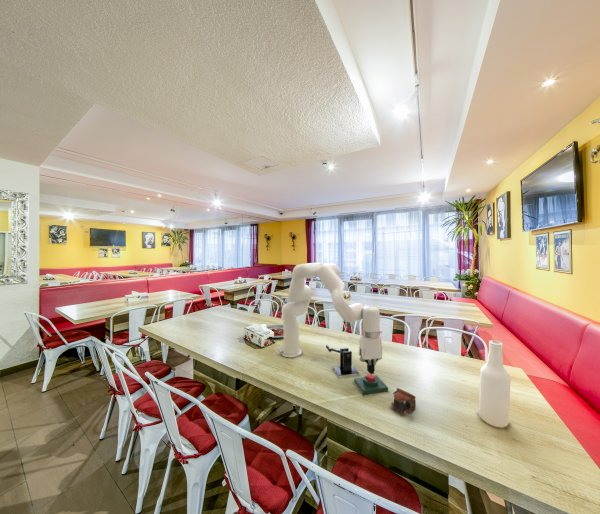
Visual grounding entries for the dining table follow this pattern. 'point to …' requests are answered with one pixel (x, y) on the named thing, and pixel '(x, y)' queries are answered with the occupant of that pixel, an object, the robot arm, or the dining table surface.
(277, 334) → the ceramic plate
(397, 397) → the miniature brown house
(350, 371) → the switch bracket
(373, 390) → the button block
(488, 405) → the alcohol
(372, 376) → the red push button
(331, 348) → the switch lever
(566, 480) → the dining table surface
